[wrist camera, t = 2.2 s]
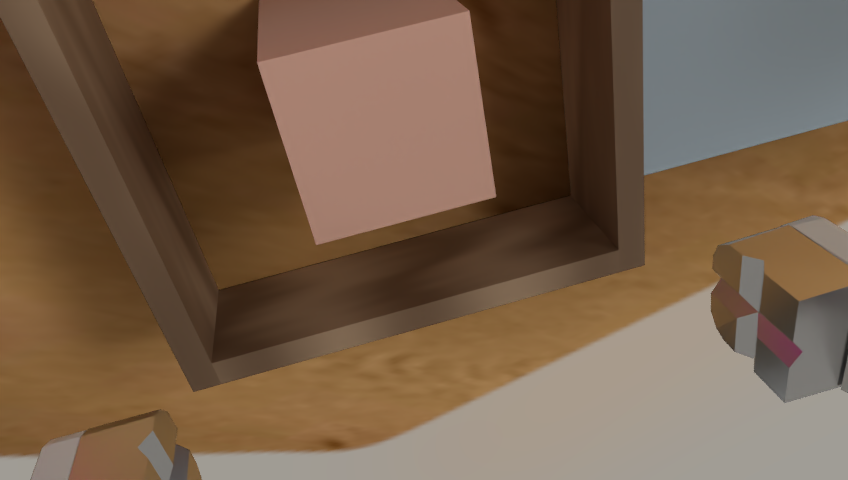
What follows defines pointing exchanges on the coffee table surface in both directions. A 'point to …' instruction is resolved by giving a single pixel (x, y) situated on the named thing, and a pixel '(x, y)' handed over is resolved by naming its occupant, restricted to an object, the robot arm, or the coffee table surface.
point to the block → (376, 109)
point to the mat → (739, 74)
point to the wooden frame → (365, 271)
